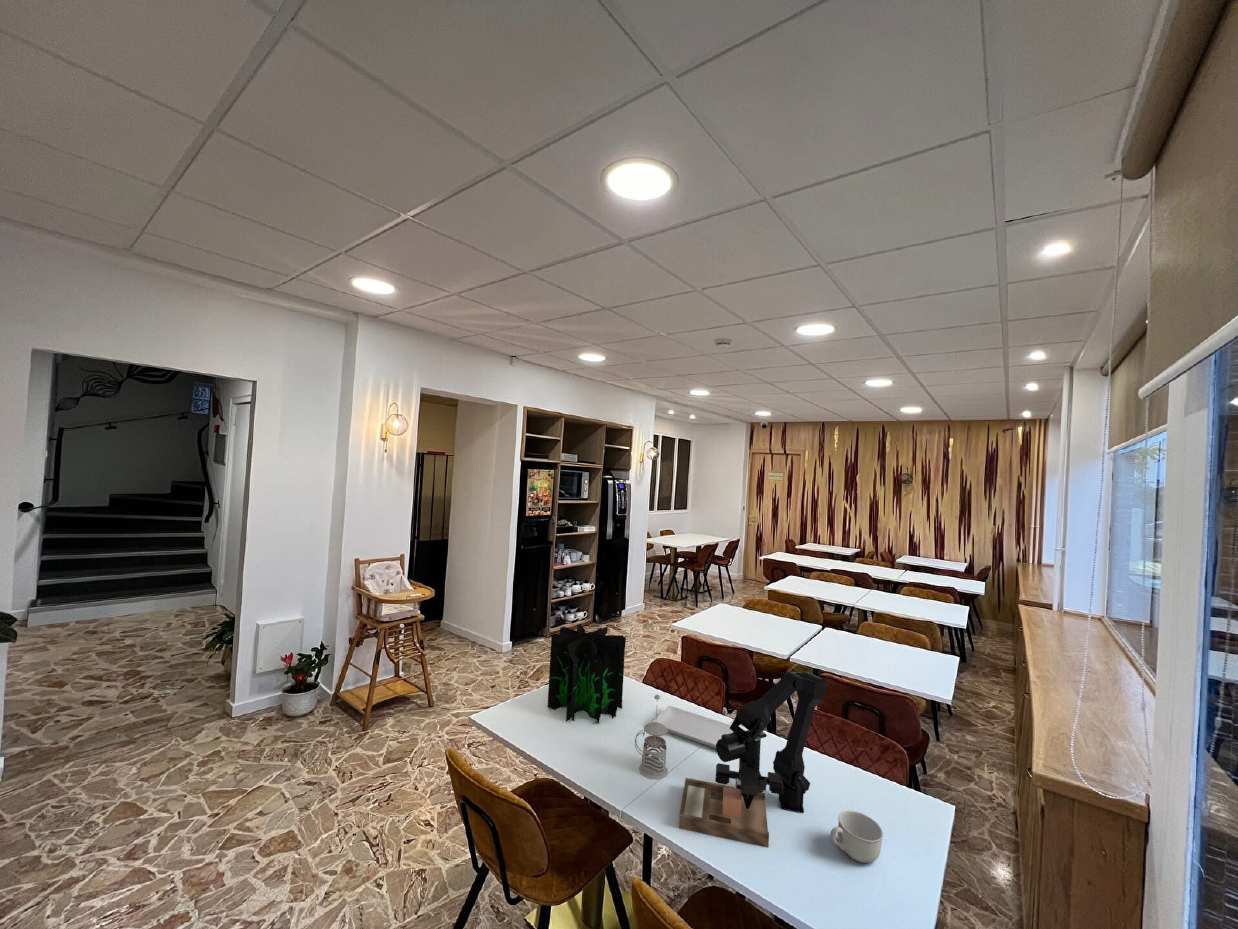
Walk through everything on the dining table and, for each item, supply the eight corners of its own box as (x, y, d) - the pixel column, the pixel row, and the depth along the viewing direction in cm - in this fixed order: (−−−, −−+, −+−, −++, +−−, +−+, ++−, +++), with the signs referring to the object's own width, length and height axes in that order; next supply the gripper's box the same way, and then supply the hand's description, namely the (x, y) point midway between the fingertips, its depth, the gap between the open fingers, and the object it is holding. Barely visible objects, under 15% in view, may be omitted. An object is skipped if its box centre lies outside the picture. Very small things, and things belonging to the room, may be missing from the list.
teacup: (868, 839, 138) (869, 810, 138) (890, 871, 127) (892, 839, 127) (818, 838, 137) (819, 809, 137) (837, 869, 126) (838, 838, 126)
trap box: (764, 804, 150) (765, 793, 150) (768, 847, 133) (769, 834, 133) (685, 789, 156) (685, 777, 156) (678, 828, 138) (679, 815, 138)
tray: (728, 759, 174) (729, 749, 174) (649, 730, 191) (650, 721, 191) (743, 738, 189) (744, 729, 189) (669, 713, 205) (669, 705, 205)
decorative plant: (579, 732, 186) (583, 652, 186) (535, 702, 208) (539, 631, 208) (633, 710, 205) (637, 638, 206) (588, 685, 227) (592, 620, 228)
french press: (666, 782, 159) (670, 703, 159) (631, 775, 161) (635, 698, 161) (669, 764, 168) (673, 690, 169) (636, 759, 171) (639, 686, 171)
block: (740, 807, 145) (740, 789, 145) (740, 818, 140) (741, 800, 141) (722, 803, 146) (723, 786, 147) (722, 815, 142) (723, 797, 142)
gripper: (716, 763, 137) (713, 820, 137) (786, 775, 133) (784, 834, 133) (717, 742, 148) (714, 795, 148) (782, 753, 144) (780, 807, 144)
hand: (747, 808), depth 143 cm, fingers closed
